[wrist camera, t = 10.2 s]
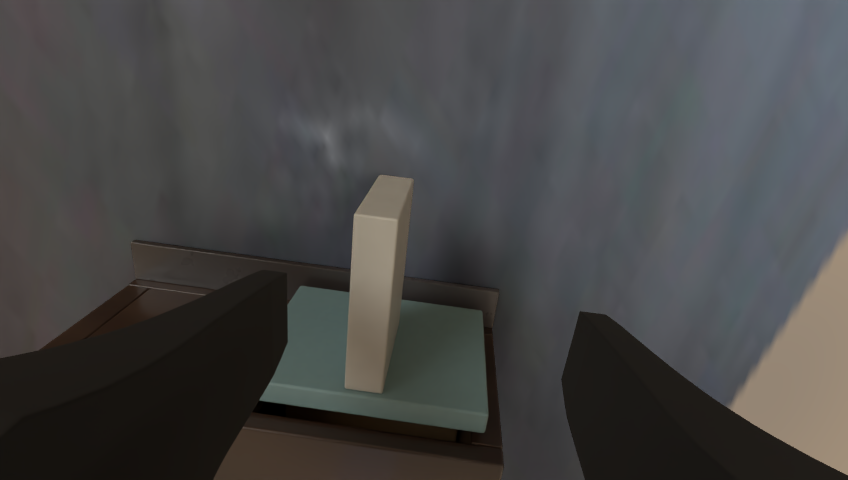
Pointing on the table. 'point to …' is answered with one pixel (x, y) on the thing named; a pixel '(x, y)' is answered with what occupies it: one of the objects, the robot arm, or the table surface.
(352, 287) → the teal stand
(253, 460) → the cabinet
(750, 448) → the robot arm
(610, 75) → the table surface
